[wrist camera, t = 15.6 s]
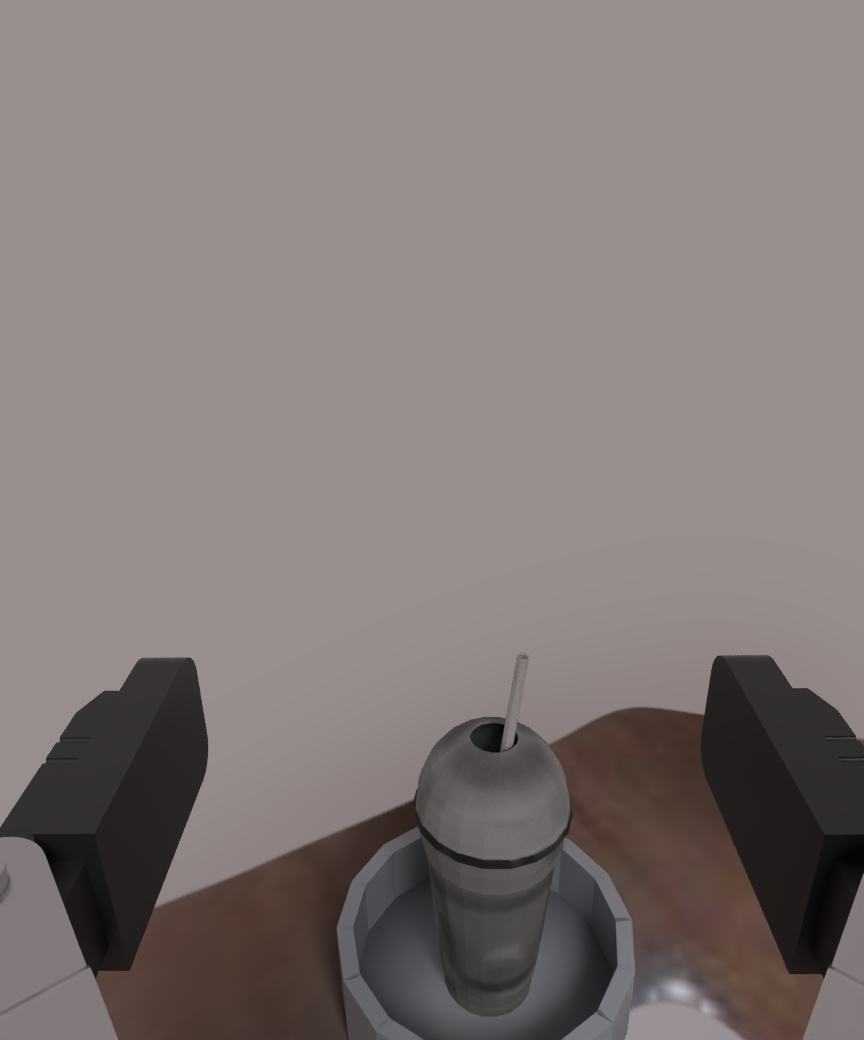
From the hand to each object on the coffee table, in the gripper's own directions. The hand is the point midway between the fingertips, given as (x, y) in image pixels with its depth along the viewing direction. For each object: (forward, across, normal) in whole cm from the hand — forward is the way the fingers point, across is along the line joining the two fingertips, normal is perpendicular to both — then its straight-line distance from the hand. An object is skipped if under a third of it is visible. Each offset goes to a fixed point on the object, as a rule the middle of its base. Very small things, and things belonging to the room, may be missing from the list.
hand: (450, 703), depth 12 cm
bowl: (+18, -2, +32) cm, 37 cm away
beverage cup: (+18, -2, +31) cm, 36 cm away
